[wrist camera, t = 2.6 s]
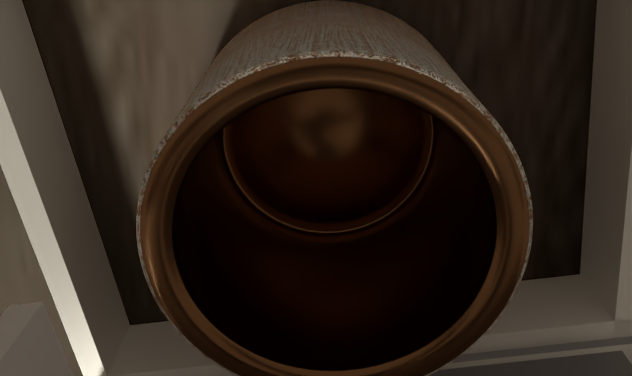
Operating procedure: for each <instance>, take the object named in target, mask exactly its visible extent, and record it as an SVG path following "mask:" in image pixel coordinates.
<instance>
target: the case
mask: <svg viewBox="0 0 632 376" xmlns="http://www.w3.org/2000/svg"><path fill="white" fill-rule="evenodd" d="M0 165H1V167H2V170H3V172H4V175H5V177H6V180H7V183H8V185H9V188H10V190H11V193H12V195H13V198H14V200H15V203H16V206H17V208H18V211H19V213H20V216H21V218H22V221H23V223H24V226H25V228H26V231H27V234H28V236H29V239H30V241H31V244H32V246H33V249H34V251H35V254H36V257H37V259H38V262H39V264H40V267H41V269H42V272H43V274H44V277H45V280H46V282H47V285H48V287H49V290H50V292H51V295H52V297H53V300H54V302H55V305H56V308H57V310H58V313H59V315H60V318H61V320H62V323H63V325H64V328H65V331H66V333H67V336H68V338H69V341H70V343H71V346H72V348H73V351H74V353H75V356H76V359H77V361H78V364H79V366H80V369H81V371H82V374H83V376H236V375H234V374H232V373H230V372H228V371H226V370H224V369H223V368H221V367H219V366H218V365H216V364H215V363H213V362H212V361H210V360H209V359H207V358H206V357H205V356H203V355H202V354H201V353H199V352H198V351H197V350H196V349H195V348H193V347H192V346H191V345H190V344H189V343H188V342H187V341H186V340H185V339H184V338H183V337H182V336H181V335H180V334H179V333H178V332H177V331H176V330H175V328H174V327H173V326H172V325H171V323H170V322H169V321H164V322H155V323H146V324H137V325H130V324H129V321H128V318H127V315H126V312H125V309H124V305H123V302H122V299H121V296H120V293H119V290H118V287H117V284H116V281H115V278H114V275H113V272H112V269H111V266H110V263H109V260H108V257H107V254H106V251H105V248H104V245H103V242H102V239H101V236H100V233H99V230H98V227H97V224H96V221H95V218H94V215H93V212H92V209H91V206H90V203H89V200H88V197H87V194H86V191H85V188H84V185H83V182H82V179H81V176H80V173H79V170H78V167H77V164H76V161H75V158H74V155H73V152H72V149H71V146H70V143H69V140H68V137H67V134H66V131H65V128H64V125H63V122H62V119H61V116H60V113H59V110H58V107H57V104H56V101H55V98H54V95H53V92H52V89H51V86H50V83H49V80H48V77H47V74H46V71H45V68H44V65H43V62H42V59H41V56H40V53H39V50H38V47H37V44H36V41H35V38H34V35H33V32H32V29H31V26H30V23H29V20H28V17H27V14H26V11H25V8H24V5H23V2H22V0H0ZM429 376H632V0H597V8H596V24H595V40H594V56H593V72H592V88H591V104H590V120H589V136H588V152H587V168H586V184H585V200H584V216H583V233H582V249H581V265H580V274H577V275H568V276H559V277H551V278H542V279H533V280H524V281H521V282H520V285H519V287H518V289H517V291H516V293H515V295H514V297H513V299H512V300H511V302H510V304H509V305H508V307H507V308H506V310H505V312H504V313H503V314H502V316H501V317H500V318H499V320H498V321H497V322H496V323H495V325H494V326H493V327H492V328H491V329H490V331H489V332H488V333H487V334H486V335H485V336H484V337H483V338H482V339H481V340H480V341H479V342H478V343H476V344H475V345H474V346H473V347H472V348H471V349H470V350H468V351H467V352H466V353H464V354H463V355H462V356H460V357H459V358H458V359H456V360H455V361H453V362H452V363H450V364H449V365H447V366H445V367H444V368H442V369H440V370H438V371H437V372H435V373H433V374H431V375H429Z"/></svg>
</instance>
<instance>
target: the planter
mask: <svg viewBox="0 0 632 376" xmlns="http://www.w3.org/2000/svg"><path fill="white" fill-rule="evenodd" d="M532 236H533V208H532V200H531V193H530V189H529V185H528V180H527V177H526V174H525V171H524V168H523V166H522V163H521V161H520V159H519V157H518V154H517V152H516V150H515V149H514V147H513V145H512V143H511V141H510V140H509V138H508V136H507V135H506V133H505V132H504V130H503V129H502V128H501V126H500V125H499V123H498V122H497V121H496V120H495V119H494V117H493V116H492V115H491V114H490V113H489V111H488V110H487V109H486V108H485V107H484V106H483V105H482V103H481V102H480V101H479V100H478V99H477V98H476V97H475V96H474V94H473V93H472V92H471V91H470V90H469V89H468V88H467V86H466V85H465V84H464V83H463V82H462V80H461V79H460V78H459V77H458V76H457V74H456V73H455V72H454V71H453V69H452V68H451V67H450V66H449V64H448V63H447V62H446V61H445V60H444V58H443V57H442V56H441V55H440V54H439V52H438V51H437V50H436V49H435V48H434V47H433V45H432V44H431V43H430V42H429V41H428V40H427V39H426V38H425V37H424V36H423V35H421V34H420V33H419V32H418V31H417V30H415V29H414V28H413V27H411V26H410V25H409V24H407V23H406V22H404V21H402V20H401V19H399V18H397V17H395V16H393V15H391V14H389V13H387V12H385V11H382V10H380V9H377V8H374V7H371V6H368V5H364V4H359V3H355V2H348V1H336V0H322V1H311V2H304V3H299V4H295V5H291V6H288V7H284V8H282V9H279V10H276V11H274V12H271V13H269V14H267V15H265V16H263V17H261V18H260V19H258V20H256V21H254V22H253V23H251V24H250V25H248V26H247V27H246V28H244V29H243V30H242V31H240V32H239V33H238V34H237V35H236V36H234V37H233V38H232V39H231V40H230V41H229V42H228V43H227V44H226V45H225V47H224V48H223V49H222V50H221V51H220V52H219V54H218V55H217V57H216V58H215V59H214V61H213V62H212V64H211V65H210V67H209V68H208V70H207V71H206V73H205V74H204V76H203V78H202V79H201V81H200V82H199V84H198V86H197V87H196V89H195V91H194V92H193V94H192V95H191V97H190V98H189V100H188V101H187V103H186V105H185V106H184V108H183V109H182V111H181V112H180V113H179V115H178V116H177V118H176V119H175V121H174V122H173V124H172V125H171V127H170V128H169V130H168V131H167V132H166V134H165V136H164V137H163V139H162V140H161V142H160V144H159V145H158V147H157V149H156V151H155V153H154V155H153V157H152V159H151V161H150V163H149V166H148V168H147V171H146V174H145V176H144V179H143V183H142V186H141V190H140V194H139V200H138V206H137V216H136V237H137V247H138V253H139V258H140V263H141V266H142V270H143V273H144V276H145V279H146V281H147V284H148V287H149V289H150V291H151V293H152V295H153V297H154V299H155V301H156V302H157V304H158V306H159V308H160V309H161V311H162V312H163V314H164V315H165V317H166V318H167V320H168V321H169V322H170V323H171V325H172V326H173V327H174V328H175V330H176V331H177V332H178V333H179V334H180V335H181V336H182V337H183V338H184V339H185V340H186V341H187V342H188V343H189V344H190V345H191V346H192V347H193V348H195V349H196V350H197V351H198V352H199V353H201V354H202V355H203V356H205V357H206V358H207V359H209V360H210V361H212V362H213V363H215V364H216V365H218V366H219V367H221V368H223V369H224V370H226V371H228V372H230V373H232V374H234V375H236V376H429V375H431V374H433V373H435V372H437V371H438V370H440V369H442V368H444V367H445V366H447V365H449V364H450V363H452V362H453V361H455V360H456V359H458V358H459V357H460V356H462V355H463V354H464V353H466V352H467V351H468V350H470V349H471V348H472V347H473V346H474V345H475V344H476V343H478V342H479V341H480V340H481V339H482V338H483V337H484V336H485V335H486V334H487V333H488V332H489V331H490V329H491V328H492V327H493V326H494V325H495V323H496V322H497V321H498V320H499V318H500V317H501V316H502V314H503V313H504V312H505V310H506V308H507V307H508V305H509V304H510V302H511V300H512V299H513V297H514V295H515V293H516V291H517V289H518V287H519V285H520V282H521V280H522V277H523V275H524V272H525V269H526V266H527V263H528V258H529V254H530V250H531V243H532Z"/></svg>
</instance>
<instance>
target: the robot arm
mask: <svg viewBox="0 0 632 376" xmlns="http://www.w3.org/2000/svg"><path fill="white" fill-rule="evenodd" d="M0 376H73V374H72V372H71V369H70V367H69V364H68V362H67V359H66V357H65V355H64V352H63V350H62V347H61V345H60V342H59V340H58V337H57V335H56V333H55V330H54V328H53V325H52V323H51V320H50V318H49V315H48V313H47V311H46V308H45V306H44V303H43V302H35V303H26V304H17V305H9V306H8V307H7V309H6V310H5V311H4V312H3V314H2V315H1V316H0Z"/></svg>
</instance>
